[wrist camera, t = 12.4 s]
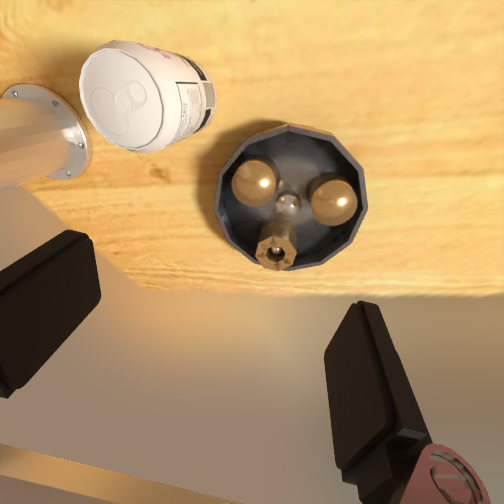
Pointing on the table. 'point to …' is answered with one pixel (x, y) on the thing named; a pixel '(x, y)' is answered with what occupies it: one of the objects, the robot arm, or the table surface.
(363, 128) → the table surface
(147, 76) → the supplement can
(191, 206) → the table surface
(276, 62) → the table surface
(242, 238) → the tray
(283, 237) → the tan hollow faceted cylinder
